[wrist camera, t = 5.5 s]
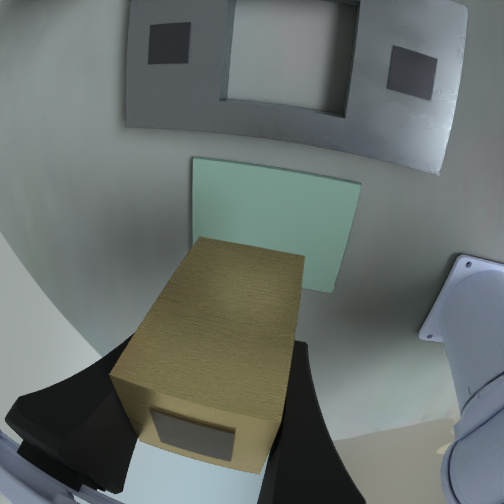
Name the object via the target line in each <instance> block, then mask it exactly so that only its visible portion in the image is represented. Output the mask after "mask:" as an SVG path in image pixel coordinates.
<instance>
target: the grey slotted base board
mask: <svg viewBox="0 0 504 504" xmlns="http://www.w3.org/2000/svg"><path fill="white" fill-rule="evenodd" d="M325 1H331V2H337V3H343V4H348V5H353V6H357V15H356V25H355V33H354V42H353V50H352V58H351V65H350V72H349V79H348V86H347V93H346V99H345V106H344V112H343V115H341V114H336V113H330V112H325V111H319V110H314V109H308V108H302V107H295V106H288V105H281V104H273V103H265V102H257V101H247V100H236V99H227V91H228V78H229V66H230V55H231V43H232V33H233V22H234V12H235V3H236V0H131V4H130V15H129V27H128V42H127V62H126V127H140V128H163V129H180V130H193V131H205V132H216V133H226V134H235V135H244V136H252V137H259V138H267V139H274V140H280V141H287V142H293V143H299V144H305V145H311V146H317V147H322V148H327V149H332V150H338V151H342V152H347V153H352V154H357V155H361V156H366V157H370V158H375V159H379V160H383V161H387V162H391V163H395V164H399V165H403V166H407V167H411V168H414V169H418V170H421V171H425V172H429V173H432V174H435V175H439V173H440V169H441V166H442V162H443V158H444V154H445V151H446V147H447V143H448V138H449V134H450V130H451V126H452V121H453V116H454V111H455V106H456V101H457V96H458V90H459V84H460V78H461V72H462V65H463V57H464V49H465V40H466V29H467V15H468V7H467V6H464V5H462V4H460V3H458V2H455V1H453V0H325Z"/></svg>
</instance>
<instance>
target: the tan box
mask: <svg viewBox="0 0 504 504" xmlns="http://www.w3.org/2000/svg"><path fill="white" fill-rule="evenodd" d="M304 262H305V256H303V255H298V254H293V253H287V252H282V251H277V250H271V249H266V248H261V247H255V246H250V245H244V244H239V243H234V242H228V241H223V240H217V239H212V238H206V237H201V236H199V238H198V239H197V241H196V242H195V243H194V245H193V246H192V248H191V249H190V251H189V252H188V254H187V255H186V256H185V258H184V259H183V261H182V262H181V264H180V265H179V267H178V268H177V270H176V271H175V273H174V274H173V276H172V277H171V279H170V280H169V282H168V283H167V285H166V286H165V288H164V289H163V291H162V292H161V294H160V295H159V297H158V298H157V300H156V301H155V303H154V304H153V306H152V307H151V309H150V310H149V312H148V313H147V315H146V317H145V318H144V320H143V321H142V323H141V324H140V326H139V327H138V329H137V331H136V332H135V334H134V335H133V337H132V338H131V340H130V342H129V343H128V345H127V346H126V348H125V350H124V351H123V353H122V354H121V356H120V358H119V359H118V361H117V363H116V364H115V366H114V367H113V369H112V371H111V372H110V374H109V375H110V378H111V380H112V383H113V385H114V387H115V390H116V392H117V394H118V396H119V399H120V401H121V403H122V405H123V408H124V410H125V412H126V414H127V416H128V418H129V420H130V422H131V425H132V427H133V429H134V431H135V433H136V435H137V437H138V438H139V440H140V441H141V442H144V443H146V444H149V445H152V446H155V447H158V448H160V449H163V450H167V451H169V452H173V453H176V454H179V455H182V456H186V457H189V458H192V459H195V460H199V461H203V462H206V463H210V464H214V465H218V466H222V467H226V468H231V469H235V470H239V471H244V472H249V473H255V474H260V472H261V470H262V467H263V465H264V463H265V461H266V458H267V456H268V454H269V451H270V449H271V446H272V444H273V441H274V439H275V436H276V434H277V431H278V429H279V426H280V424H281V419H282V414H283V408H284V402H285V397H286V391H287V385H288V378H289V372H290V366H291V359H292V353H293V346H294V339H295V332H296V325H297V318H298V311H299V303H300V295H301V287H302V279H303V271H304Z"/></svg>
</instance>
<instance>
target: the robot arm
mask: <svg viewBox="0 0 504 504" xmlns="http://www.w3.org/2000/svg"><path fill="white" fill-rule="evenodd" d="M467 262H470V263H469V264H467V265H466V263H467ZM134 334H135V333H134ZM134 334H132V335H131V336H130V337H129V338H128V339H126V340H125V341H124V342H123V343H122V344H120V345H119V346H118V347H116V348H115V349H114V350H112V351H111V352H110V353H108V354H107V355H106V356H104V357H103V358H101V359H100V360H98V361H97V362H95V363H94V364H92V365H91V366H89V367H88V368H86V369H84V370H83V371H81V372H79V373H77V374H75V375H73V376H72V377H70V378H68V379H65V380H64V381H61V382H59V383H57V384H54V385H52V386H50V387H47V388H45V389H42V390H39V391H36V392H33V393H30V394H27V395H23V396H20V397H18V399H17V400H16V402H15V403H14V405H13V406H12V408H11V409H10V411H9V412H8V414H7V415H6V417H5V421H6V423H7V424H8V425H9V426H10V427H11V428H12V429H13V430H14V431H15V432H16V433H17V434H18V435H19V436H20V437H21V438H22V439H23V442H22V443H21V445H19V444H18V443H16V442H15V441H14V440H12V439H11V438H9V437H8V436H7V435H6V434H4V433H3V432H2V431H1V430H0V494H1V495H3V496H4V497H5V498H6V499H7V500H8V501H9V502H10V503H11V504H79V503H78V502H76V501H75V500H74V496H73V494H74V495H75V496H77V497H79V498H81V499H83V500H85V501H87V502H89V503H91V504H124V503H122V502H119V501H117V500H115V499H113V498H110V497H108V496H106V495H104V494H102V493H100V492H98V491H97V489H99V490H101V491H104V492H105V491H106V490H107V491H109V492H111V493H113V494H118V493H121V492H122V491H123V488H124V483H125V479H126V475H127V471H128V468H129V464H130V461H131V458H132V454H133V451H134V448H135V445H136V442H137V439H138V437H137V435H136V433H135V431H134V429H133V427H132V425H131V422H130V420H129V418H128V416H127V414H126V412H125V410H124V408H123V405H122V403H121V401H120V399H119V396H118V394H117V392H116V390H115V387H114V385H113V383H112V380H111V378H110V375H109V374H110V372H111V371H112V369H113V367H114V366H115V364H116V363H117V361H118V359H119V358H120V356H121V354H122V353H123V351H124V350H125V348H126V346H127V345H128V343H129V342H130V340H131V338H132V337H133V335H134ZM430 334H431V335H430ZM418 335H419V338H420V339H421V340H428V341H436V342H444V346H445V350H446V353H447V357H448V361H449V365H450V369H451V373H452V377H453V381H454V386H455V390H456V395H457V400H458V404H459V410H460V415H461V419H460V420H459V422H458V423H456V424H455V425H454V433H455V439H456V440H455V441H454V442H453V443H452V444H451V445H450V446H449V447H448V449H447V450H446V452H445V454H444V457H443V460H442V464H441V486H442V490H443V493H444V496H445V498H446V500H447V502H448V504H504V264H500V263H496V262H492V261H488V260H484V259H480V258H476V257H472V256H468V255H460V256H458V257H457V259H456V261H455V263H454V265H453V267H452V269H451V272H450V274H449V276H448V278H447V280H446V282H445V284H444V286H443V288H442V290H441V292H440V294H439V296H438V298H437V300H436V302H435V304H434V306H433V307H432V309H431V311H430V313H429V315H428V317H427V318H426V320H425V322H424V324H423V326H422V327H421V329H420V331H419V333H418ZM257 504H366V501H365V499H364V497H363V496H362V494H361V493H360V492H359V490H358V489H357V487H356V486H355V484H354V482H353V480H352V479H351V477H350V475H349V474H348V472H347V470H346V469H345V466H344V465H343V462H342V460H341V459H340V457H339V455H338V453H337V451H336V449H335V446H334V444H333V442H332V439H331V437H330V435H329V432H328V430H327V427H326V424H325V422H324V419H323V416H322V413H321V410H320V406H319V403H318V400H317V396H316V392H315V388H314V384H313V380H312V375H311V370H310V364H309V357H308V345H307V344H306V342H301V341H295V340H294V346H293V353H292V359H291V366H290V372H289V378H288V385H287V391H286V397H285V402H284V408H283V414H282V419H281V424H280V426H279V429H278V431H277V434H276V436H275V439H274V441H273V444H272V446H271V449H270V452H269V457H268V461H267V466H266V470H265V474H264V478H263V482H262V486H261V490H260V494H259V498H258V502H257Z"/></svg>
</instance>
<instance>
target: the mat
mask: <svg viewBox="0 0 504 504" xmlns="http://www.w3.org/2000/svg"><path fill="white" fill-rule="evenodd" d="M361 186H362V185H361V183H358V182H353V181H348V180H343V179H338V178H333V177H328V176H323V175H317V174H312V173H307V172H301V171H295V170H289V169H283V168H277V167H271V166H264V165H257V164H251V163H243V162H236V161H228V160H221V159H212V158H204V157H194V158H193V193H192V232H193V245H194V243H195V242H196V241H197V239H198V238H199V236H201V237H206V238H212V239H217V240H223V241H228V242H234V243H239V244H244V245H250V246H255V247H261V248H266V249H271V250H277V251H282V252H287V253H293V254H298V255H303V256H305V262H304V271H303V279H302V287H301V288H305V289H310V290H316V291H321V292H327V293H332V292H333V289H334V285H335V282H336V279H337V275H338V272H339V269H340V265H341V262H342V258H343V255H344V251H345V248H346V244H347V241H348V237H349V233H350V229H351V226H352V222H353V218H354V214H355V210H356V206H357V202H358V198H359V194H360V190H361Z"/></svg>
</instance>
